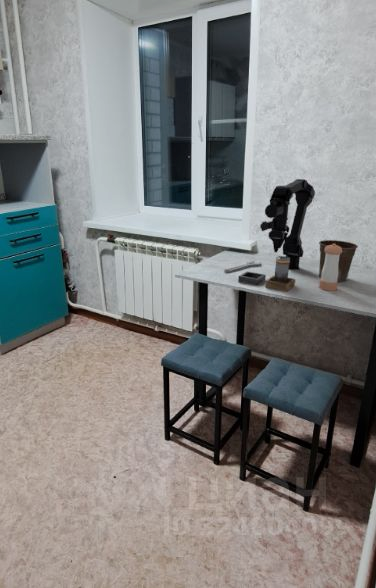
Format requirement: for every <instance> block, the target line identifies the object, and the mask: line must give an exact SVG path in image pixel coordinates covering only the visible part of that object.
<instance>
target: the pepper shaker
mask: <svg viewBox="0 0 376 588" xmlns="http://www.w3.org/2000/svg"><path fill="white" fill-rule="evenodd" d="M324 251H325V253H326V256H325V263H324V266H323V269H322V275H321V277H320V279H319V284H318V288H319V289H320V290H323V291H329V292H333V291H337V290H338V286H339V285H338V283H339V281H337V279H338V263H339V256H340V254H341V253H342V248H341V247H339V246H337V245H336V244H332V245H328V246H326V247H325V249H324Z"/></svg>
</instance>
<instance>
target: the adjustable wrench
mask: <svg viewBox="0 0 376 588" xmlns="http://www.w3.org/2000/svg"><path fill="white" fill-rule="evenodd" d="M261 266H262V262H261V261H259V262H255V261H254V260H253V261H251V260H249V261H247V262H246V264H241V265H237V266H234V267H233V266H232V267H231V268H227V269H224V272H223V273H225V274H229V273H234V272H237V271H241V270H245V269H248V268H252V267H253V268H254V267H261Z"/></svg>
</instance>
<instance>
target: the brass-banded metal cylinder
mask: <svg viewBox="0 0 376 588" xmlns="http://www.w3.org/2000/svg"><path fill="white" fill-rule="evenodd" d="M289 263H290V258H289V257H286V256H285V255H283V256H281V255H280V256H276V258H275V266H274V267H275V268H274V275H275V277H274V282H280V283H285V284H287V280H288V278H289V270H290V269H289Z"/></svg>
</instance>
